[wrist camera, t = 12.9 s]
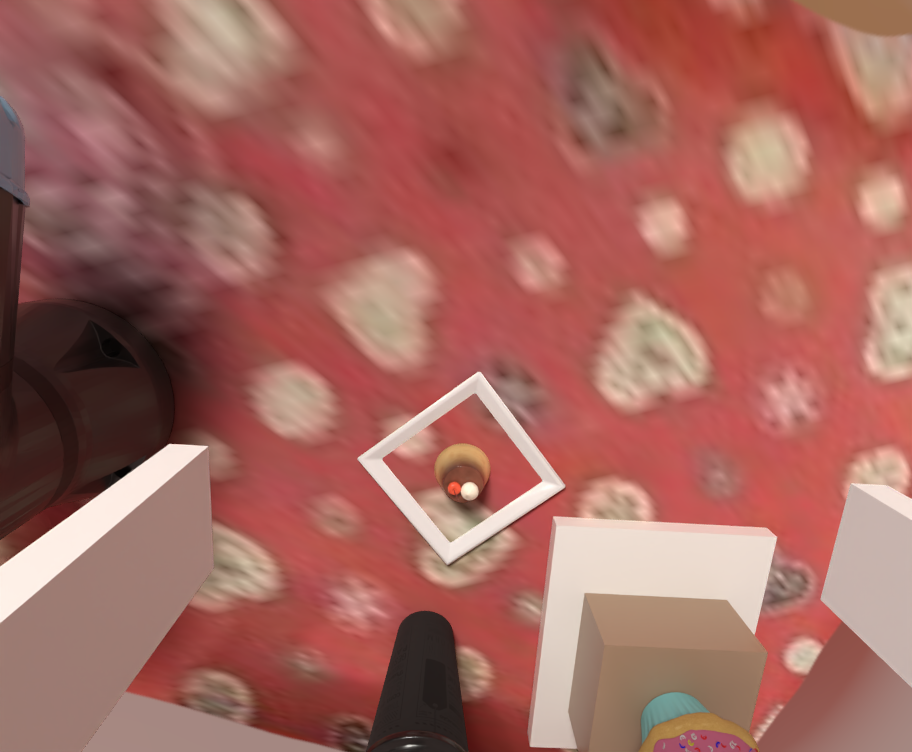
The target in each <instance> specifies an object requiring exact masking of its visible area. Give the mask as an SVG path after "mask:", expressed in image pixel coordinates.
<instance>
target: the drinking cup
mask: <svg viewBox="0 0 912 752" xmlns="http://www.w3.org/2000/svg"><path fill="white" fill-rule="evenodd" d="M366 752H468V744H467V737H466V729H465V721H464V714H463V706H462V699H461V691H460V684H459V676H458V668H457V661H456V653H455V646H454V638H453V631H452V628H451V625H450V624H449V622H448V621H447V620H446V619H445V618H444V617H443V616H441V615H439V614H437V613H435V612H430V611H420V612H416V613H413V614H411V615H409V616H408V617H406V618H405V619H404V620H403V622H402V623H401V625H400V627H399V629H398V633H397V637H396V641H395V644H394V648H393V652H392V656H391V659H390V663H389V667H388V671H387V675H386V678H385V682H384V686H383V690H382V693H381V697H380V701H379V705H378V708H377V712H376V716H375V720H374V723H373V727H372V731H371V735H370V739H369V742H368V746H367V750H366Z"/></svg>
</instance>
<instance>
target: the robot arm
mask: <svg viewBox="0 0 912 752" xmlns="http://www.w3.org/2000/svg"><path fill="white" fill-rule="evenodd" d="M29 206H30V199H29V196H28V194H27V193H26V192H25V133H24V129H23V125H22V123H21V120H20V118H19V117H18V115H17V113H16V112H15V110H14V109H13V108H12V107H11V106H10V105H9V103H8V102H7V101H6V100H5V99H4V98H3V97H1V96H0V540H1V539H2V538H4V537H5V536H6V535H8V534H9V533H11V532H12V531H14V530H15V529H17V528H18V527H20V526H21V525H22V524H24V523H25V522H27V521H28V520H30V519H31V518H33V517H34V516H35V515H37V514H38V513H40V512H41V511H43V510H44V509H46V508H47V507H52V506H56V505H61V504H65V503H69V502H74V501H78V500H83V499H87V498H91V497H96V496H97V497H96V498H94V499H93V500H91V501H90V502H89V503H87V504H86V505H85V506H83V507H82V508H80V509H79V510H78V511H76V512H75V513H73V514H72V515H71V516H69V517H68V518H67V519H65V520H64V521H62V522H61V523H60V524H58V525H57V526H55V527H54V528H53V529H51V530H50V531H49V532H47V533H46V534H44V535H43V536H42V537H40V538H39V539H38V540H36V541H35V542H33V543H32V544H31V545H29V546H28V547H26V548H25V549H24V550H22V551H21V552H20V553H18V554H17V555H15V556H14V557H13V558H11V559H10V560H9V561H7V562H6V563H4V564H3V565H2V566H0V752H82V751H83V749H84V748H85V747H86V745H87V744H88V742H89V741H90V739H91V738H92V737H93V735H94V734H95V733H96V731H97V730H98V728H99V727H100V726H101V724H102V723H103V721H104V720H105V719H106V717H107V716H108V715H109V713H110V712H111V710H112V709H113V708H114V706H115V705H116V703H117V702H118V701H119V699H120V698H121V697H122V695H123V694H124V692H125V691H126V690H127V688H128V687H129V685H130V684H131V683H132V681H133V680H134V678H135V677H136V676H137V674H138V673H139V672H140V670H141V669H142V667H143V666H144V665H145V663H146V662H147V660H148V659H149V658H150V656H151V655H152V653H153V652H154V651H155V649H156V648H157V647H158V645H159V644H160V642H161V641H162V640H163V638H164V637H165V635H166V634H167V633H168V631H169V630H170V628H171V627H172V626H173V624H174V623H175V622H176V620H177V619H178V617H179V616H180V615H181V613H182V612H183V610H184V609H185V608H186V606H187V605H188V603H189V602H190V601H191V599H192V598H193V597H194V595H195V594H196V592H197V591H198V590H199V588H200V587H201V585H202V584H203V583H204V581H205V580H206V579H207V577H208V576H209V574H210V573H211V572H212V570H213V569H214V559H213V536H212V514H211V491H210V469H209V446H198V445H181V444H169V445H167V446H166V447H165V445H166V443H167V441H168V438H169V436H170V433H171V430H172V425H173V419H174V397H173V391H172V387H171V383H170V379H169V377H168V374H167V371H166V369H165V367H164V365H163V363H162V361H161V359H160V358H159V356H158V354H157V353H156V351H155V350H154V348H153V347H152V346H151V345H150V343H149V342H148V341H147V340H146V339H145V338H144V337H143V336H142V335H141V334H140V333H139V332H138V331H137V330H136V329H135V328H134V327H133V326H131V325H130V324H129V323H127V322H126V321H125V320H123V319H122V318H120V317H119V316H117V315H115V314H113V313H112V312H110V311H108V310H105V309H103V308H101V307H98V306H96V305H93V304H90V303H86V302H82V301H77V300H70V299H46V300H38V301H31V302H25V303H19V304H18V296H19V283H20V270H21V257H22V244H23V231H24V218H25V207H29ZM164 447H165V448H164ZM820 600H821V601H822V602H823V603H824V604H826V605H827V606H828V607H829V608H830V609H831V610H832V611H833V612H834V613H835V614H836V615H837V616H838V617H839V618H840V619H841V620H842V621H843V622H844V623H845V624H846V625H847V626H848V627H849V628H851V629H852V630H853V631H854V632H855V633H856V634H857V635H858V636H859V637H860V638H861V639H862V640H863V641H864V642H865V643H866V644H867V645H868V646H869V647H870V648H871V649H872V650H873V651H874V652H875V653H876V654H877V655H878V656H879V657H881V658H882V659H883V660H884V661H885V662H886V663H887V664H888V665H889V666H890V667H891V668H892V669H893V670H894V671H895V672H896V673H897V674H898V675H899V676H900V677H901V678H903V680H904V681H905V682H906V683H908V684H909V685H910V686H911V687H912V499H910V498H909V497H907V496H905V495H903V494H901V493H900V492H898V491H896V490H894V489H892V488H891V487H889V486H887V485H871V484H854V483H851V484H850V488H849V492H848V496H847V500H846V503H845V507H844V511H843V515H842V519H841V523H840V526H839V530H838V534H837V538H836V542H835V546H834V549H833V553H832V557H831V561H830V565H829V569H828V572H827V576H826V580H825V584H824V588H823V592H822V595H821V599H820Z"/></svg>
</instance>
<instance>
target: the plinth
mask: <svg viewBox="0 0 912 752" xmlns="http://www.w3.org/2000/svg"><path fill="white" fill-rule="evenodd" d="M776 540H777V537H776V536H775V535H774V534H773V533H772V532H771V531H770V530H768V529H767V528H761V527H743V526H724V525H705V524H687V523H668V522H649V521H630V520H612V519H593V518H574V517H556V516H553V521H552V530H551V538H550V546H549V555H548V563H547V572H546V580H545V589H544V597H543V605H542V614H541V622H540V631H539V639H538V648H537V656H536V665H535V673H534V681H533V690H532V698H531V707H530V715H529V724H528V739H529V745H530V747H545V748H569V749H578V752H638V751H639V749H640V747H641V746H642V732H641V716H642V713H643V710H644V709H645V707H646V706H647V705H648V703H649V702H651V701H652V700H653V699H654V698H656V697H658V696H660V695H663V694H666V693H671V692H680V693H685V694H688V695H691V696H692V697H694V698H696V699H697V700H698V701H699V702H700V703H701V704H702V705H703V706H704V707H705V708H706V709H707V710H708V711H709V712H710V713H714V714H716V715H717V716H719V717H720V718H722V719H724V720H728V721H732V722H734V723H736V724H737V725H739V726H740V727H742V728H744V729H745V730H747V731H748V732H749V730H750V726H751V722H752V717H753V713H754V709H755V705H756V701H757V696H758V692H759V688H760V684H761V680H762V675H763V671H764V667H765V663H766V659H767V654H768V652H767V651H766V650H765V648H764V647H763V646H762V644H761V643H760V642H759V641H758V639H757V638H756V637H755V631H756V627H757V623H758V618H759V614H760V610H761V605H762V601H763V596H764V592H765V588H766V583H767V579H768V575H769V570H770V566H771V562H772V557H773V553H774V548H775V544H776Z"/></svg>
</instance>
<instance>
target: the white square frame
mask: <svg viewBox="0 0 912 752" xmlns="http://www.w3.org/2000/svg"><path fill="white" fill-rule="evenodd" d="M474 393H476V394H477V395H478V396H479V398H480V399H481V400H482V402H483V403H484V404H485V406H486V407H487V408H488V409H489V411H490V412H491V413H492V415H493V416H494V417H495V419H496V420H497V421H498V422H499V424H500V425H501V426H502V428H503V429H504V430H505V432H506V433H507V434H508V435H509V437H510V438H511V439H512V441H513V442H514V443H515V445H516V446H517V447H518V449H519V450H520V451H521V452H522V454H523V455H524V456H525V458H526V459H527V460H528V462H529V463H530V464H531V465H532V467H533V468H534V469H535V471H536V472H537V473H538V475H539V476H540V477H541V479H542V482H541V483H540V484H538V485H537V486H535V487H534V488H532V489H531V490H529V491H528V492H526V493H525V494H523V495H522V496H520V497H519V498H517V499H516V500H514V501H513V502H511V503H510V504H508V505H507V506H505V507H504V508H502V509H501V510H499V511H498V512H496V513H495V514H493V515H492V516H490V517H489V518H487V519H486V520H484V521H483V522H481V523H480V524H478V525H477V526H475V527H474V528H472V529H471V530H469V531H468V532H466V533H465V534H463V535H462V536H460V537H459V538H457V539H456V540H454V541H453V542H449V541H448V540H447V539H446V537H445V536H444V535H443V534H442V533H441V531H440V530H439V529H438V528H437V526H436V525H435V524H434V523H433V522H432V520H431V519H430V518H429V517H428V516H427V514H426V513H425V512H424V511H423V509H422V508H421V507H420V506H419V505H418V503H417V502H416V501H415V500H414V498H413V497H412V496H411V495H410V494H409V492H408V491H407V490H406V489H405V487H404V486H403V485H402V484H401V483H400V481H399V480H398V479H397V478H396V476H395V475H394V474H393V473H392V472H391V470H390V469H389V468H388V467H387V465H386V464H385V463H384V462H383V460H382V458H383V457H385V456H386V455H387V454H389V453H390V452H392V451H393V450H394V449H396V448H397V447H399V446H400V445H401V444H403V443H404V442H406V441H407V440H409V439H410V438H411V437H413V436H414V435H416V434H417V433H418V432H420V431H421V430H423V429H424V428H425V427H427V426H428V425H430V424H431V423H433V422H434V421H435V420H437V419H438V418H440V417H441V416H442V415H444V414H445V413H447V412H448V411H449V410H451V409H452V408H454V407H455V406H457V405H458V404H459V403H461V402H462V401H464V400H465V399H466V398H468V397H469V396H471V395H472V394H474ZM358 461H359V462H360V463H361V464H362V465H363V467H364V468H365V469H366V470H367V471H368V473H369V474H370V475H371V476H372V477H373V479H374V480H375V481H376V482H377V483H378V484H379V486H380V487H381V488H382V489H383V490H384V492H385V493H386V494H387V495H388V496H389V498H390V499H391V500H392V501H393V502H394V503H395V505H396V506H397V507H398V508H399V509H400V511H401V512H402V513H403V514H404V515H405V516H406V518H407V519H408V520H409V521H410V522H411V524H412V525H413V526H414V527H415V528H416V530H417V531H418V532H419V533H420V534H421V535H422V537H423V538H424V539H425V540H426V541H427V543H428V544H429V545H430V546H431V547H432V549H433V550H434V551H435V552H436V553H437V554H438V556H439V557H440V558H441V559H442V560H443V562H444V563H445V564H446V565H449V564H451V563H452V562H454V561H455V560H457V559H458V558H460V557H461V556H463V555H464V554H466V553H467V552H469V551H470V550H472V549H473V548H475V547H476V546H478V545H479V544H481V543H482V542H484V541H485V540H487V539H488V538H490V537H491V536H493V535H494V534H496V533H497V532H499V531H500V530H502V529H503V528H505V527H507V526H508V525H510V524H511V523H513V522H514V521H516V520H517V519H519V518H520V517H522V516H523V515H525V514H526V513H528V512H529V511H531V510H532V509H534V508H535V507H537V506H538V505H540V504H541V503H543V502H544V501H546V500H547V499H549V498H550V497H552V496H553V495H555V494H556V493H558V492H559V491H561V490H562V489H564V488H565V484H564V483H563V481H562V480H561V479H560V477H559V476H558V475H557V473H556V472H555V471H554V469H553V468H552V467H551V465H550V464H549V463H548V461H547V460H546V459H545V457H544V456H543V455H542V453H541V452H540V451H539V449H538V448H537V447H536V445H535V444H534V443H533V441H532V440H531V439H530V437H529V436H528V435H527V433H526V432H525V431H524V429H523V428H522V427H521V425H520V424H519V423H518V421H517V420H516V419H515V417H514V416H513V415H512V413H511V412H510V411H509V409H508V408H507V407H506V405H505V404H504V403H503V401H502V400H501V399H500V397H499V396H498V395H497V393H496V392H495V391H494V389H493V388H492V387H491V385H490V384H489V383H488V381H487V380H486V379H485V377H484V376H483V375H482V373H481V372H477V373H476V374H474V375H473V376H471V377H470V378H469V379H467V380H466V381H464V382H463V383H462V384H460V385H459V386H457V387H456V388H455V389H453V390H452V391H450V392H449V393H448V394H446V395H445V396H443V397H442V398H441V399H439V400H438V401H436V402H435V403H434V404H432V405H431V406H429V407H428V408H427V409H425V410H424V411H422V412H421V413H420V414H418V415H417V416H415V417H414V418H413V419H411V420H410V421H408V422H407V423H406V424H404V425H403V426H401V427H400V428H399V429H397V430H396V431H394V432H393V433H392V434H390V435H389V436H387V437H386V438H385V439H383V440H382V441H380V442H379V443H378V444H376V445H375V446H373V447H372V448H371V449H369V450H368V451H366V452H365V453H364V454H362V455H361V456H359V457H358ZM434 472H435V477H436V480H437V482H438V483H439V485H440V486H441V487H442V489H443V490H444V492H445V493H446V494H447V496H448V497H449V498H451V499H452V500H454V501H456V502H461V503H466V502H470V501H472V500H474V499H476V498H477V497H478V496H479V495H480V493H481V492H482V490H483V488H484V486H485V484H486V483H487V481H488V479H489V476H490V463H489V460H488V458H487V456H486V455H485V454H484V452H483V451H481V450H480V449H479V448H477V447H475V446H473V445H470V444H455V445H452V446H450V447H448V448H446V449H445V450H444V451H442V452H441V454H440V455H439V456H438V458H437V460H436V463H435V468H434Z"/></svg>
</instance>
